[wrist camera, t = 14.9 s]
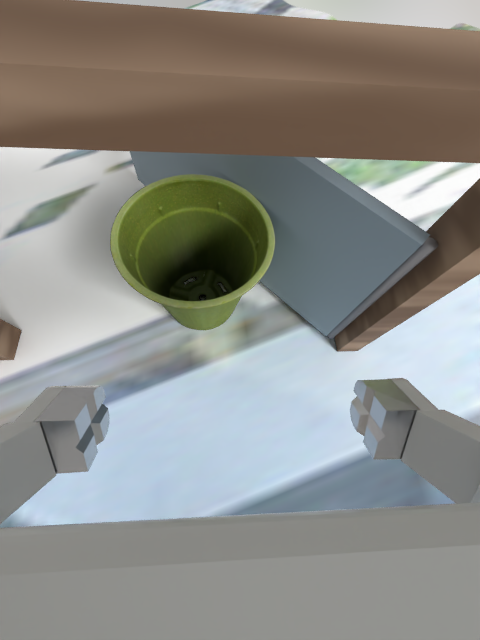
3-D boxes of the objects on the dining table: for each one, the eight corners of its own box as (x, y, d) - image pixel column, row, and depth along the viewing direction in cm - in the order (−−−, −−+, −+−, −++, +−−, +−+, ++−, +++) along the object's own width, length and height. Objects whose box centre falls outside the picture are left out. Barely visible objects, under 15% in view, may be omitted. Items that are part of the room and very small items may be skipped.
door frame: (357, 350, 30) (745, 105, 8) (-11, 360, 27) (-1056, 2, 5) (351, 324, 31) (677, 46, 9) (-3, 330, 28) (-814, -68, 6)
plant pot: (123, 318, 30) (72, 253, 19) (187, 240, 34) (174, 153, 24) (220, 376, 28) (222, 339, 18) (274, 286, 32) (301, 215, 22)
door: (331, 340, 29) (433, 252, 15) (138, 179, 36) (88, 16, 22) (347, 321, 30) (456, 222, 16) (156, 168, 37) (120, 5, 23)
